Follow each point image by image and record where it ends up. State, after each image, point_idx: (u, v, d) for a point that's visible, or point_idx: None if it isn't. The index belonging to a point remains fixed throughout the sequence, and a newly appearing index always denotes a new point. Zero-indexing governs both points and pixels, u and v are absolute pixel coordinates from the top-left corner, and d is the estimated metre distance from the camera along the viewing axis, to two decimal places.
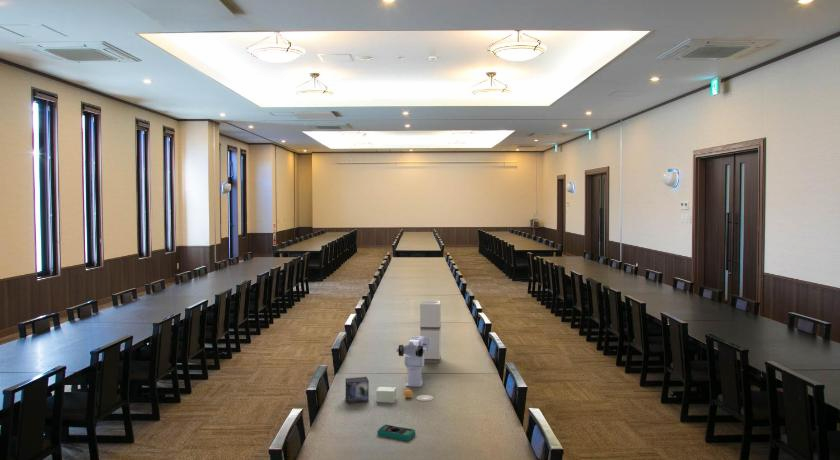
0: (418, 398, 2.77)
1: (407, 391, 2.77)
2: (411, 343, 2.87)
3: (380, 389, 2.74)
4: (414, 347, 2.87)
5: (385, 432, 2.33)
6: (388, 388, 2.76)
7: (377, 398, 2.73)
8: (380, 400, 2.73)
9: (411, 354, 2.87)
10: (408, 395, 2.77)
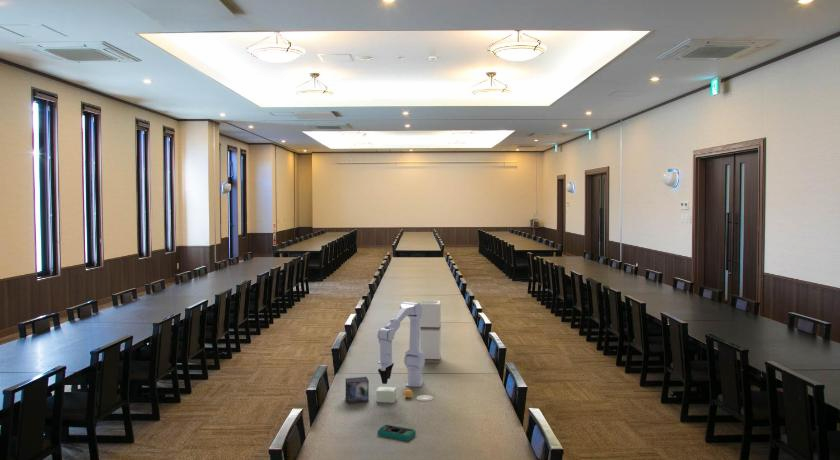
0: (418, 398, 2.77)
1: (407, 391, 2.77)
2: None
3: (380, 389, 2.74)
4: None
5: (385, 432, 2.33)
6: (388, 388, 2.76)
7: (377, 398, 2.73)
8: (380, 400, 2.73)
9: None
10: (408, 395, 2.77)
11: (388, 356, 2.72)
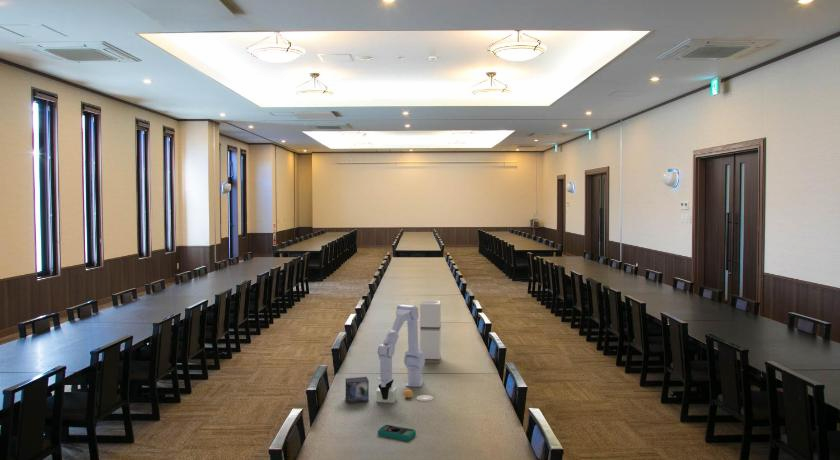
0: (418, 398, 2.77)
1: (407, 391, 2.77)
2: None
3: None
4: None
5: (385, 432, 2.33)
6: None
7: (377, 398, 2.73)
8: (380, 400, 2.73)
9: None
10: (408, 395, 2.77)
11: (388, 372, 2.72)
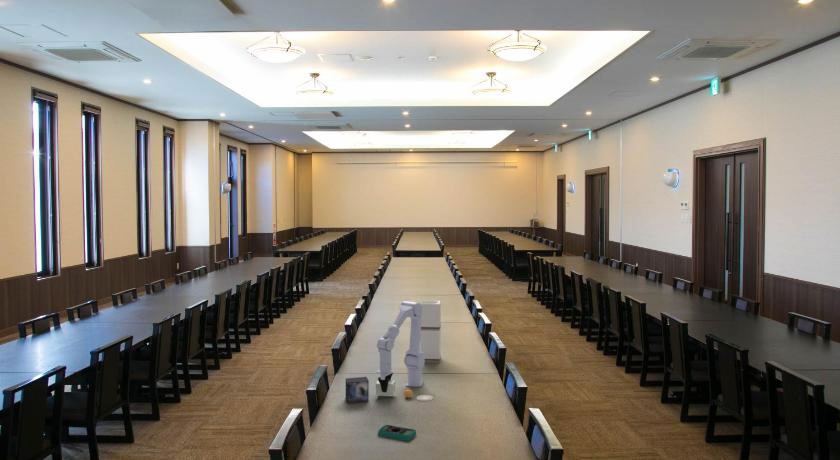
0: (418, 398, 2.77)
1: (407, 391, 2.77)
2: None
3: (379, 382, 2.79)
4: None
5: (386, 432, 2.33)
6: None
7: (376, 391, 2.78)
8: (379, 393, 2.78)
9: None
10: (408, 395, 2.77)
11: (387, 365, 2.77)
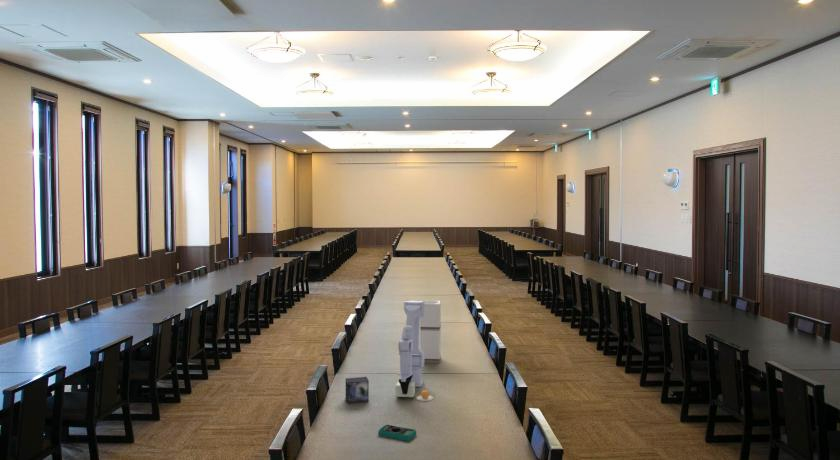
0: (418, 398, 2.77)
1: (422, 397, 2.76)
2: None
3: (399, 384, 2.78)
4: (402, 375, 2.77)
5: (386, 432, 2.33)
6: None
7: (396, 393, 2.77)
8: (399, 395, 2.76)
9: None
10: (424, 394, 2.76)
11: (408, 367, 2.76)
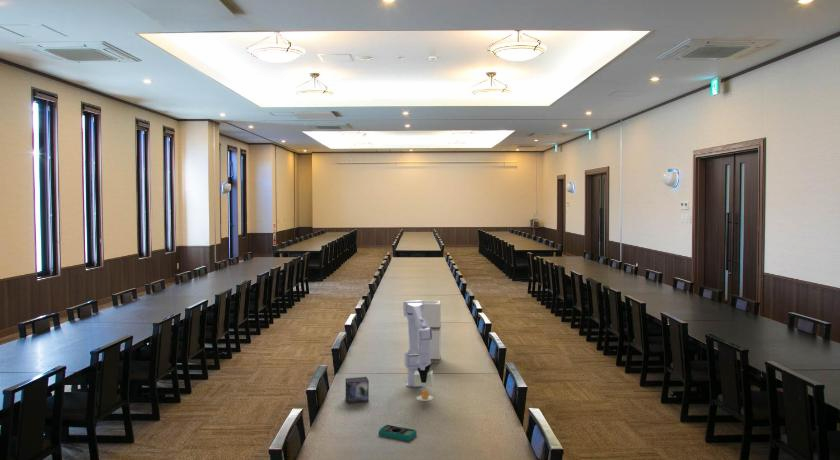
0: (418, 398, 2.77)
1: (422, 397, 2.76)
2: None
3: (417, 373, 2.77)
4: None
5: (386, 432, 2.33)
6: None
7: (415, 382, 2.75)
8: (418, 384, 2.75)
9: None
10: (424, 394, 2.76)
11: (427, 356, 2.74)
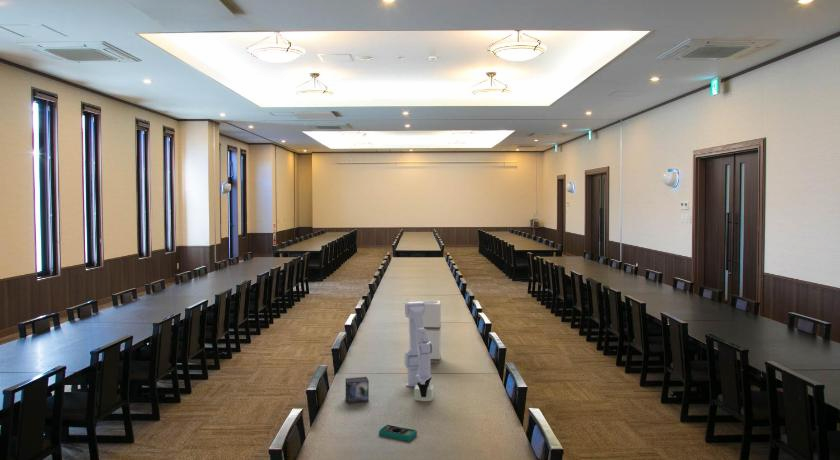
0: None
1: None
2: None
3: (418, 387, 2.77)
4: None
5: (386, 432, 2.33)
6: None
7: (415, 396, 2.75)
8: (418, 398, 2.75)
9: None
10: None
11: (427, 370, 2.74)
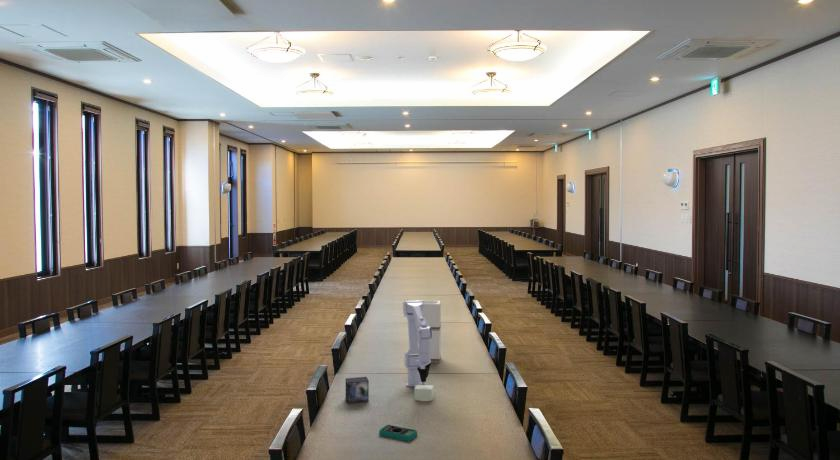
0: None
1: None
2: None
3: (418, 387, 2.77)
4: None
5: (387, 432, 2.33)
6: (426, 386, 2.78)
7: (415, 396, 2.75)
8: (418, 398, 2.75)
9: None
10: None
11: (427, 354, 2.74)
